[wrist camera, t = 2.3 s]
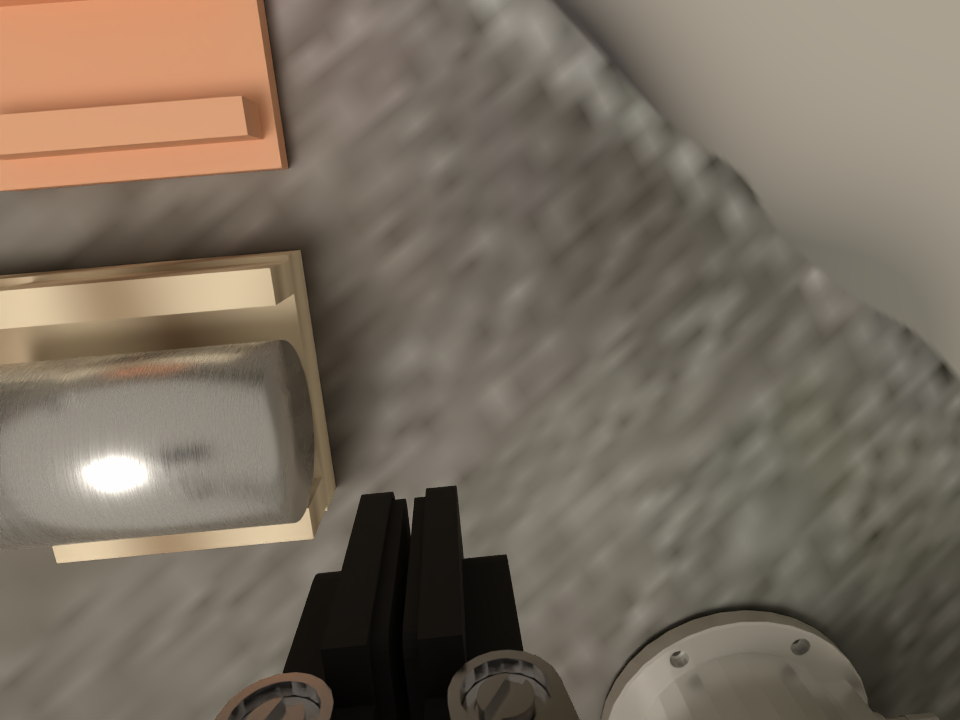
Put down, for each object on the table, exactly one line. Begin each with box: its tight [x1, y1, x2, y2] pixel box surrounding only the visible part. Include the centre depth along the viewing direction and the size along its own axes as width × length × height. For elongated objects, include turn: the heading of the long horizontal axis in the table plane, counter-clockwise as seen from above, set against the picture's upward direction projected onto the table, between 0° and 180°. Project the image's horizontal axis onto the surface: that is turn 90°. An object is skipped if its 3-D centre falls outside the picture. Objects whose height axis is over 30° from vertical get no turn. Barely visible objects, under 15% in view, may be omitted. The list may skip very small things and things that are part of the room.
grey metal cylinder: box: [0, 340, 314, 551], centre depth 21 cm, size 10×6×6 cm, turn 95°
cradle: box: [0, 0, 288, 191], centre depth 22 cm, size 10×8×3 cm
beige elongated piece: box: [0, 250, 336, 563], centre depth 23 cm, size 21×10×5 cm, turn 95°
